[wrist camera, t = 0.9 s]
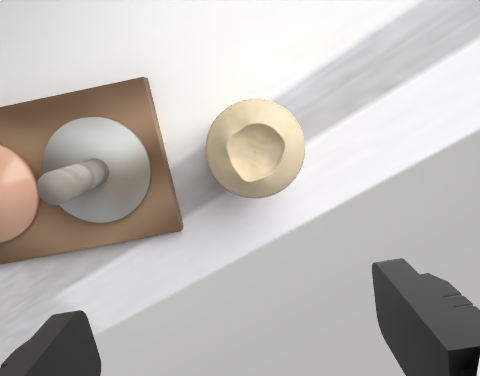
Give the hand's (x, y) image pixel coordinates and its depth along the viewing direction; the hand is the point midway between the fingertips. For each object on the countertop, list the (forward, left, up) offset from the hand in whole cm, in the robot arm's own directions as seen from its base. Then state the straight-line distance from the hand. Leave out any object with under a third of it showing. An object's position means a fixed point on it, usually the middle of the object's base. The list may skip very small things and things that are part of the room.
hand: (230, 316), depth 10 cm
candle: (-3, +2, -20) cm, 20 cm away
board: (-3, -15, -20) cm, 25 cm away
